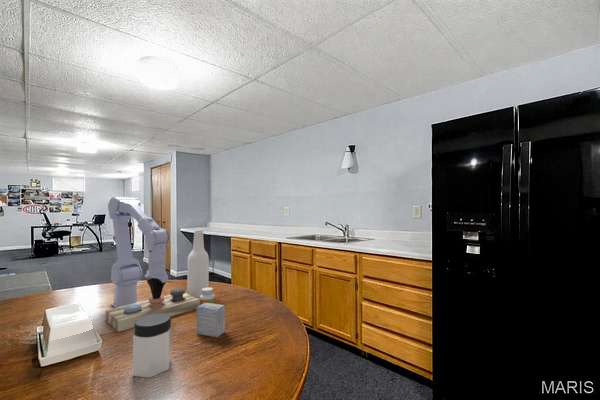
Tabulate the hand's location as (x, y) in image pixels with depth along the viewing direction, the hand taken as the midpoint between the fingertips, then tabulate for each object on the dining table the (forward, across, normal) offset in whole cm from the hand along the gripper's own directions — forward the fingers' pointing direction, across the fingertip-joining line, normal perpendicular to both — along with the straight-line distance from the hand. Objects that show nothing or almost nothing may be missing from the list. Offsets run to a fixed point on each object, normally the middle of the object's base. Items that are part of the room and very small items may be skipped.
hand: (156, 298), depth 103 cm
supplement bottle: (+6, +15, +12) cm, 20 cm away
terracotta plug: (+5, 0, 0) cm, 5 cm away
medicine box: (+6, +29, +5) cm, 30 cm away
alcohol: (+6, -6, +20) cm, 22 cm away
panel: (+6, -1, 0) cm, 6 cm away
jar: (+6, +35, -15) cm, 39 cm away
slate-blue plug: (+6, 0, -8) cm, 10 cm away
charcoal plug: (+4, 0, +8) cm, 9 cm away
